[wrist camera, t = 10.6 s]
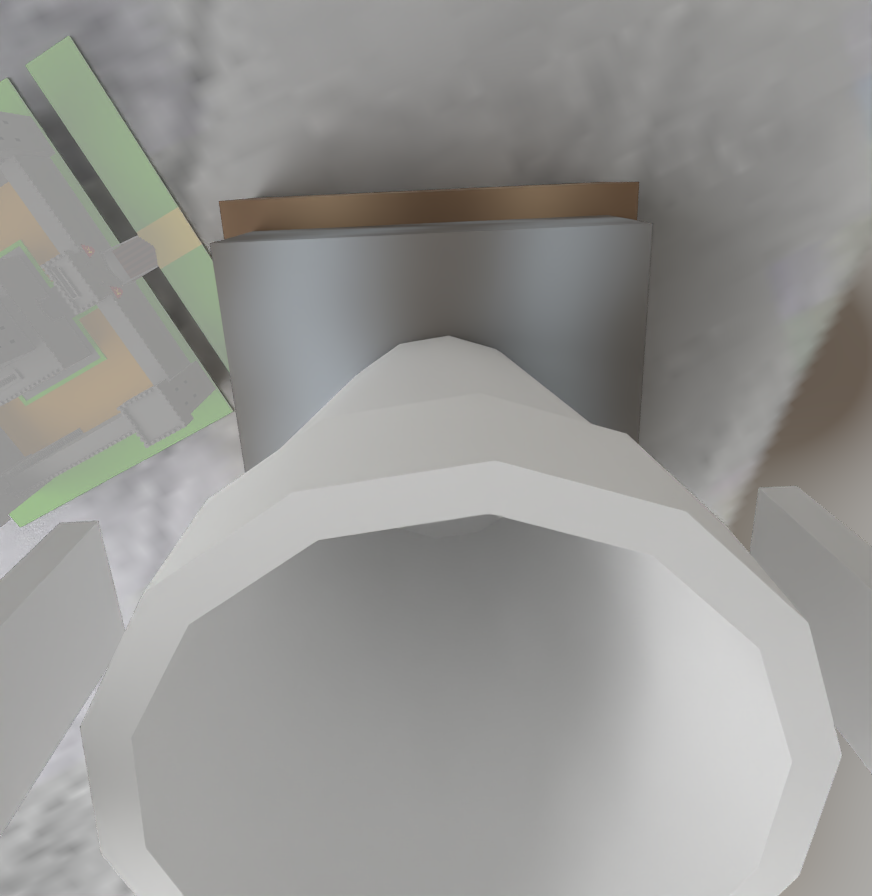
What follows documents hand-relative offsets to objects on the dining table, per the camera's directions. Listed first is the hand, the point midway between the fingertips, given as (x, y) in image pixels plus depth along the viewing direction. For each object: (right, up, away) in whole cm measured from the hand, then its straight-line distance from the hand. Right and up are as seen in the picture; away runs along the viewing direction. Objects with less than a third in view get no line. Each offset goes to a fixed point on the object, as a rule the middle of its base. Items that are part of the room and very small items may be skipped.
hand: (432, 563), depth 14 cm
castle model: (-17, +8, +16) cm, 24 cm away
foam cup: (0, +3, +7) cm, 8 cm away
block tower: (0, +6, +16) cm, 17 cm away
